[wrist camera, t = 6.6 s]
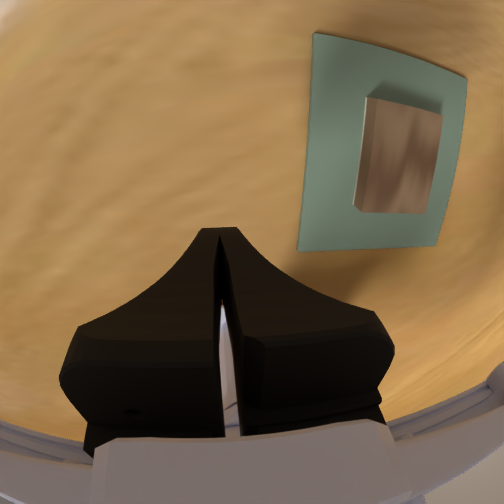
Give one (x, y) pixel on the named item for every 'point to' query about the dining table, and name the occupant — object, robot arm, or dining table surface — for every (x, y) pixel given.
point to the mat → (349, 144)
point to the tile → (396, 158)
